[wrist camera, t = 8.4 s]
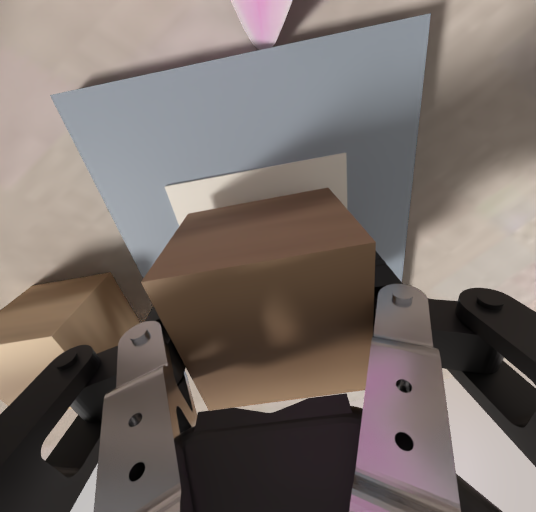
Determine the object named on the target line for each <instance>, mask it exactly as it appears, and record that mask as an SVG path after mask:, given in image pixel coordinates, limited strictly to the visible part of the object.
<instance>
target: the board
mask: <svg viewBox="0 0 536 512" xmlns="http://www.w3.org/2000/svg"><path fill="white" fill-rule="evenodd" d="M430 16H431V13H429V14H425V15H420V16H415V17H411V18H406V19H401V20H397V21H392V22H388V23H383V24H378V25H374V26H369V27H364V28H360V29H355V30H350V31H346V32H341V33H337V34H332V35H327V36H323V37H318V38H313V39H309V40H304V41H299V42H295V43H290V44H285V45H281V46H276V47H272V48H267V49H262V50H258V51H253V52H248V53H244V54H239V55H234V56H230V57H225V58H221V59H216V60H211V61H207V62H202V63H197V64H193V65H188V66H183V67H179V68H174V69H169V70H165V71H160V72H156V73H151V74H146V75H142V76H137V77H132V78H128V79H123V80H118V81H114V82H109V83H105V84H100V85H95V86H91V87H86V88H81V89H77V90H72V91H67V92H63V93H58V94H53V95H50V96H51V98H52V100H53V102H54V104H55V106H56V108H57V110H58V112H59V114H60V116H61V118H62V120H63V122H64V124H65V126H66V128H67V130H68V132H69V133H70V135H71V137H72V139H73V141H74V143H75V145H76V147H77V149H78V151H79V153H80V155H81V157H82V159H83V161H84V163H85V165H86V167H87V169H88V171H89V173H90V175H91V177H92V179H93V181H94V183H95V185H96V187H97V189H98V191H99V192H100V194H101V196H102V198H103V200H104V202H105V204H106V206H107V208H108V210H109V212H110V214H111V216H112V218H113V220H114V222H115V224H116V226H117V228H118V230H119V232H120V234H121V236H122V238H123V240H124V242H125V244H126V246H127V248H128V250H129V251H130V253H131V255H132V257H133V259H134V261H135V263H136V265H137V267H138V269H139V271H140V273H141V275H142V277H143V278H144V277H145V275H146V274H147V273H148V271H149V270H150V268H151V267H152V265H153V264H154V262H155V261H156V259H157V258H158V257H159V255H160V254H161V252H162V251H163V249H164V248H165V246H166V245H167V244H168V242H169V241H170V239H171V238H172V236H173V235H174V233H175V232H176V230H177V229H178V228H179V226H180V225H181V223H182V222H183V220H184V219H185V217H186V216H187V215H188V214H189V213H194V212H200V211H205V210H210V209H216V208H221V207H226V206H232V205H237V204H242V203H248V202H253V201H258V200H264V199H269V198H274V197H280V196H285V195H290V194H296V193H301V192H306V191H312V190H317V189H323V188H329V189H330V190H331V191H332V192H333V193H334V195H335V196H336V197H337V198H338V199H339V200H340V201H341V203H342V204H343V205H344V206H345V207H346V208H347V210H348V211H349V212H350V213H351V214H352V215H353V216H354V218H355V219H356V220H357V221H358V222H359V223H360V225H361V226H362V227H363V228H364V229H365V230H366V231H367V233H368V234H369V235H370V236H371V237H372V238H373V239H374V241H375V242H376V251H377V253H378V254H379V255H380V256H381V258H382V259H383V260H384V261H385V262H386V264H387V265H388V266H389V267H390V269H391V270H392V271H393V272H394V274H395V275H396V276H397V277H398V278H399V280H400V281H401V282H402V275H403V266H404V257H405V247H406V238H407V229H408V220H409V210H410V201H411V192H412V183H413V173H414V164H415V155H416V146H417V136H418V127H419V118H420V109H421V99H422V90H423V81H424V72H425V63H426V53H427V44H428V35H429V26H430Z"/></svg>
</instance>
